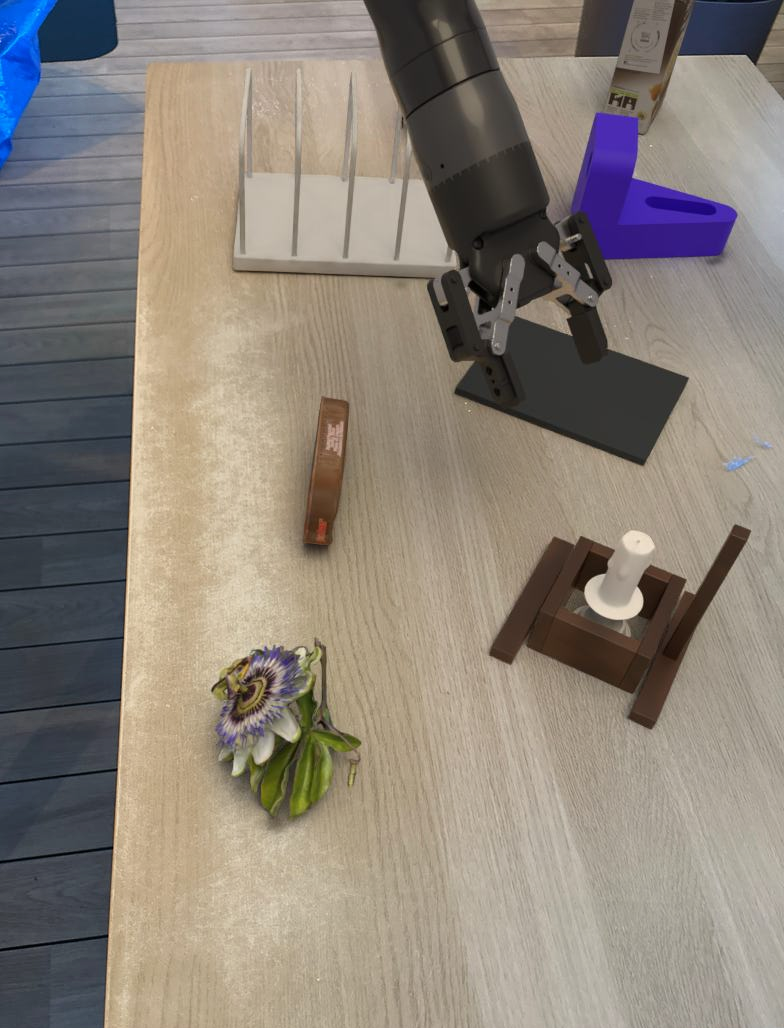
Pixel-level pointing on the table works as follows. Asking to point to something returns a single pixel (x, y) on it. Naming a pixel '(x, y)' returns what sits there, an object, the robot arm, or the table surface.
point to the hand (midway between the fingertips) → (556, 382)
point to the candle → (619, 584)
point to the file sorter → (335, 212)
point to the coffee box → (647, 58)
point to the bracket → (642, 202)
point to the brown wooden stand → (601, 645)
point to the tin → (326, 471)
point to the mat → (584, 392)
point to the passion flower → (280, 726)
